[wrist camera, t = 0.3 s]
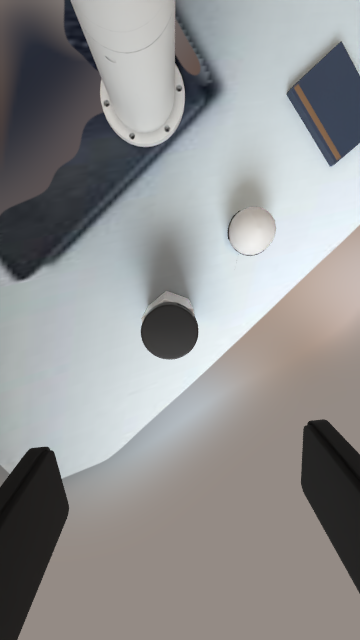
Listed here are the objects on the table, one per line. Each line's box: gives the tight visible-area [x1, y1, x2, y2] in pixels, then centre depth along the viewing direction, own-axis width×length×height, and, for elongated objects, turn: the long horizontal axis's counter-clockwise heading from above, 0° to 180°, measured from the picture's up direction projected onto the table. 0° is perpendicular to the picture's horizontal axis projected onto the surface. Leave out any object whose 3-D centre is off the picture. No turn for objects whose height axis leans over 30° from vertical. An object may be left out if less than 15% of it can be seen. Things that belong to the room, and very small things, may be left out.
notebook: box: [287, 42, 360, 166], centre depth 37 cm, size 13×9×1 cm
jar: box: [141, 291, 198, 359], centre depth 39 cm, size 9×8×12 cm
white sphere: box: [228, 207, 276, 263], centre depth 38 cm, size 10×7×7 cm
